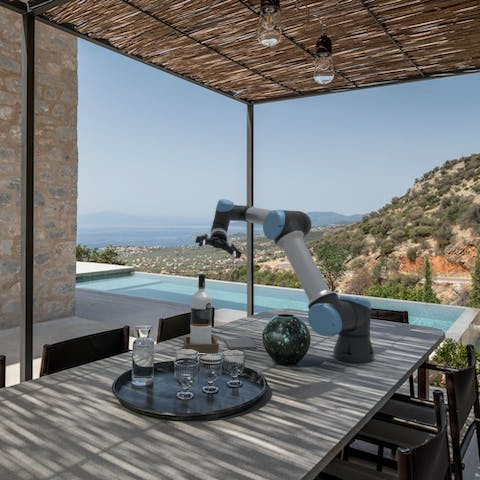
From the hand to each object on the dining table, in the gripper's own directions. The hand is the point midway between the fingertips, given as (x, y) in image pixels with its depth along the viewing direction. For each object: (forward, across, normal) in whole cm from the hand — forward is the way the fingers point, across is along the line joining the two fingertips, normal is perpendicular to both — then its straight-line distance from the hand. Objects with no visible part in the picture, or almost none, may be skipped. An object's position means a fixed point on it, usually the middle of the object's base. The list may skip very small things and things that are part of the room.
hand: (218, 253), depth 189 cm
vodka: (+18, -6, -34) cm, 39 cm away
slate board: (+9, -22, -31) cm, 39 cm away
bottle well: (+18, -6, -34) cm, 39 cm away
